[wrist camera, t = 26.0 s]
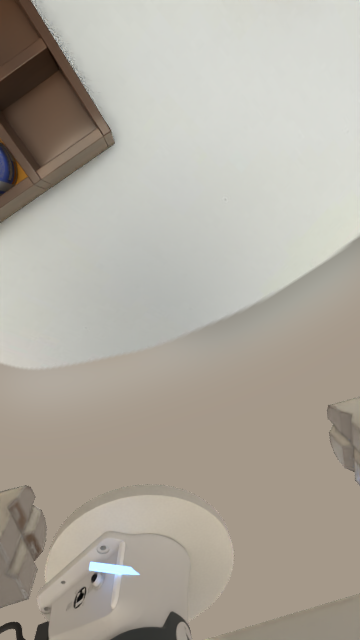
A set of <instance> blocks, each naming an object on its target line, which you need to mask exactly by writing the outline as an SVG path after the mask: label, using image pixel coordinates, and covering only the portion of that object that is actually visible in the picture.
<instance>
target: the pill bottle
mask: <svg viewBox="0 0 360 640" xmlns="http://www.w3.org/2000/svg"><path fill="white" fill-rule="evenodd" d="M16 180H17V166H16V163H15V160H14V158H13V156H12V154H11V153H10V151H9V150H8V149H7V148H6V147H5V146H4V145H3V144H2V143H0V196H1V195H2V194H4V193H5V192H6V191H8V190H9V189H11V188H12V187H14V185H15V183H16Z"/></svg>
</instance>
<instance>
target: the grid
mask: <svg viewBox="0 0 360 640" xmlns="http://www.w3.org/2000/svg"><path fill="white" fill-rule="evenodd" d="M0 143H2V144H3V145H4V146H5V147H6V148H7V149H8V150H9V151H10V153H11V154H12V156H13V158H14V160H15V163H16V166H17V180H16V183H15V185H14V187H12V188H11V189H9V190H8V191H6V192H5V193H4V194H2V195H1V196H0V223H1V222H2V221H4V220H5V219H7V218H8V217H10V216H11V215H12V214H14V213H15V212H17V211H18V210H20V209H21V208H23V207H24V206H25V205H27V204H28V203H30V202H31V201H33V200H34V199H36V198H37V197H38V196H40V195H41V194H43V193H44V192H46V191H47V190H49V189H50V188H51V187H53V186H54V185H56V184H57V183H59V182H60V181H62V180H63V179H64V178H66V177H67V176H69V175H70V174H72V173H73V172H75V171H76V170H77V169H79V168H80V167H82V166H83V165H85V164H86V163H87V162H89V161H90V160H92V159H93V158H95V157H96V156H98V155H99V154H100V153H102V152H103V151H105V150H106V149H108V148H109V147H111V146H112V145H113V144H115V142H114V139H113V136H112V132H111V130H110V128H109V127H108V125H107V123H106V122H105V120H104V118H103V117H102V115H101V114H100V112H99V110H98V109H97V107H96V105H95V104H94V102H93V101H92V99H91V97H90V96H89V94H88V93H87V91H86V89H85V88H84V86H83V84H82V83H81V81H80V80H79V78H78V76H77V75H76V73H75V72H74V70H73V68H72V67H71V65H70V63H69V62H68V60H67V59H66V57H65V55H64V54H63V52H62V51H61V49H60V47H59V46H58V44H57V42H56V41H55V39H54V38H53V36H52V34H51V33H50V31H49V29H48V28H47V26H46V25H45V23H44V21H43V20H42V18H41V17H40V15H39V13H38V12H37V10H36V8H35V7H34V5H33V4H32V2H31V0H0Z"/></svg>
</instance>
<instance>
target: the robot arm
mask: <svg viewBox="0 0 360 640" xmlns="http://www.w3.org/2000/svg"><path fill="white" fill-rule="evenodd" d="M327 415H328V419H329V420H330V421H331V422H332V423H333V426H332V428H331V430H330V432H329V436H330V443H331V446H332V448H333V451H334V453H335V455H336V457H337V459H338V460H339V462H340V463H341V464H342V465H343V466H344V467H345V468H347V469H349V470H351V471H353V472H355V481H356V482H357V483H358V484H359V485H360V397H357V398H354V399H350V400H347V401H343V402H339V403H335V404H332V405H328V409H327ZM34 499H35V495H34V493H33V491H32V489H31V487H29V486H26V485H25V486H21V487H17V488H13V489H9V490H5V491H1V492H0V608H2V607H5V606H8V605H11V604H14V603H18V602H20V601H24V600H27V599H29V596H30V593H31V590H32V586H33V583H34V580H35V576H36V573H37V567H36V565H35V563H34V561H35V560H36V558H38V556H39V555H40V554H41V553H42V552H43V549H44V545H45V542H46V528H47V527H46V522H45V517H44V515H43V512H42V510H41V509H39V508H37V507H35V506H34V505H33V502H34ZM190 570H191V562H190V558H189V555H188V553H187V552H186V550H185V549H184V548H183V547H182V546H181V545H180V544H179V543H178V542H176V541H174V540H173V539H171V538H168V537H165V536H162V535H157V534H134V535H128V534H124V533H119V532H114V531H108V532H105V533H103V534H102V535H101V536H100V537H98V538H97V539H96V540H95V541H94V542H93V543H92V544H90V545H89V546H88V547H87V548H86V549H85V550H84V551H83V552H81V553H80V554H79V555H78V556H77V557H76V558H75V559H74V560H72V561H71V562H70V563H69V564H68V565H67V566H66V567H64V568H63V569H62V570H61V571H60V572H59V573H58V574H57V575H55V576H54V577H53V578H52V579H51V580H50V581H49V582H48V583H46V584H45V585H44V586H43V587H42V588H41V589H40V590H39V591H38V594H37V604H38V607H39V610H40V612H41V613H42V615H43V616H44V618H45V619H46V620H47V621H48V622H45V623H43V624H40V625H38V627H37V631H36V635H35V639H34V640H192V637H191V632H190V628H189V625H188V624H189V623H188V588H189V577H190ZM8 629H15V630H16V637H17V640H25V639H24V638H23V636H22V628H21V625H20V624H19V623H18V622H10V623H6V624H4V625H3V626H1V627H0V633H2V632H4V631H6V630H8ZM206 640H360V594H356V595H353V596H350V597H346V598H343V599H340V600H336V601H333V602H330V603H326V604H323V605H320V606H316V607H313V608H310V609H306V610H303V611H300V612H296V613H293V614H290V615H286V616H283V617H280V618H276V619H273V620H269V621H266V622H263V623H260V624H256V625H253V626H249V627H246V628H243V629H239V630H236V631H233V632H229V633H226V634H222V635H219V636H216V637H212V638H209V639H206Z"/></svg>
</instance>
